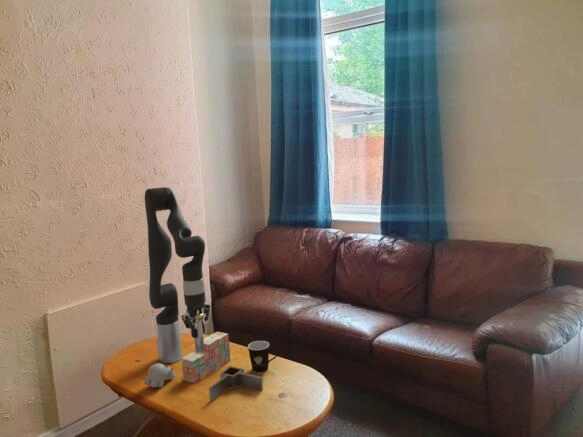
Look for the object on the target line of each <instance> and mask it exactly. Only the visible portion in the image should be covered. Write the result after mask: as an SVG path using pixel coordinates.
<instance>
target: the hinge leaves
mask: <svg viewBox="0 0 583 437" xmlns="http://www.w3.org/2000/svg"><path fill="white" fill-rule="evenodd" d="M219 377H220V378H219V379H218V380H217V381H216V382H214V383H213V384H212V385H210V387H209V388H208V391H209V392H208V393H209V401H210V402H214V401H215V400H216V399H217V398H219V396H221V395H222V394H224V392H226V391H227V390H228V389H234V390H236V389H237V388H238V387H243V388H247V389H251V390H255V391H260V392H263V390H264V389H263V387H264V384H263V377H262V376H259V375H253V374H249V373H245V370H244V368H243V367H241V368H240V367H236V366H231V365H230V366H228V367H226V368H225V369H224V370H223V371H222V372H220V374H219Z"/></svg>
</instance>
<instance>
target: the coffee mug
mask: <svg viewBox="0 0 583 437" xmlns="http://www.w3.org/2000/svg"><path fill="white" fill-rule="evenodd" d="M247 349H248V355H249V359H250V365H251V370H252V371H253V373H264V372H267V371H268V370H269V364H270V363H271V361H273V360H275V359H276V358H277V357H278V356H279V354H280V350H279V349H278V348H277V347H274V346H273V347H271V348H270V343H269V341H265V340H256V341H251V342H250V343H249V344H248V345H247ZM272 350H275V351H277V353H276V354H275V356H273V357H272V358H270V355H269V354H270V353H271V351H272ZM269 358H270V359H269Z"/></svg>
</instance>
